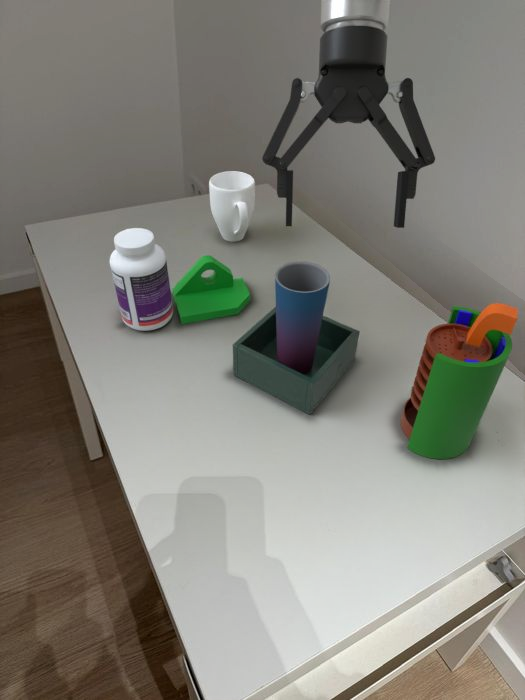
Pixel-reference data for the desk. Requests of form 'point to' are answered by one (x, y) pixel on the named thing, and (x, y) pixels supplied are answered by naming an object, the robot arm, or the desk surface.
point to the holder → (285, 383)
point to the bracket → (209, 292)
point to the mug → (232, 203)
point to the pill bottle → (141, 280)
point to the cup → (299, 312)
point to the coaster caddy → (457, 379)
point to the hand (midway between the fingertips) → (343, 226)
